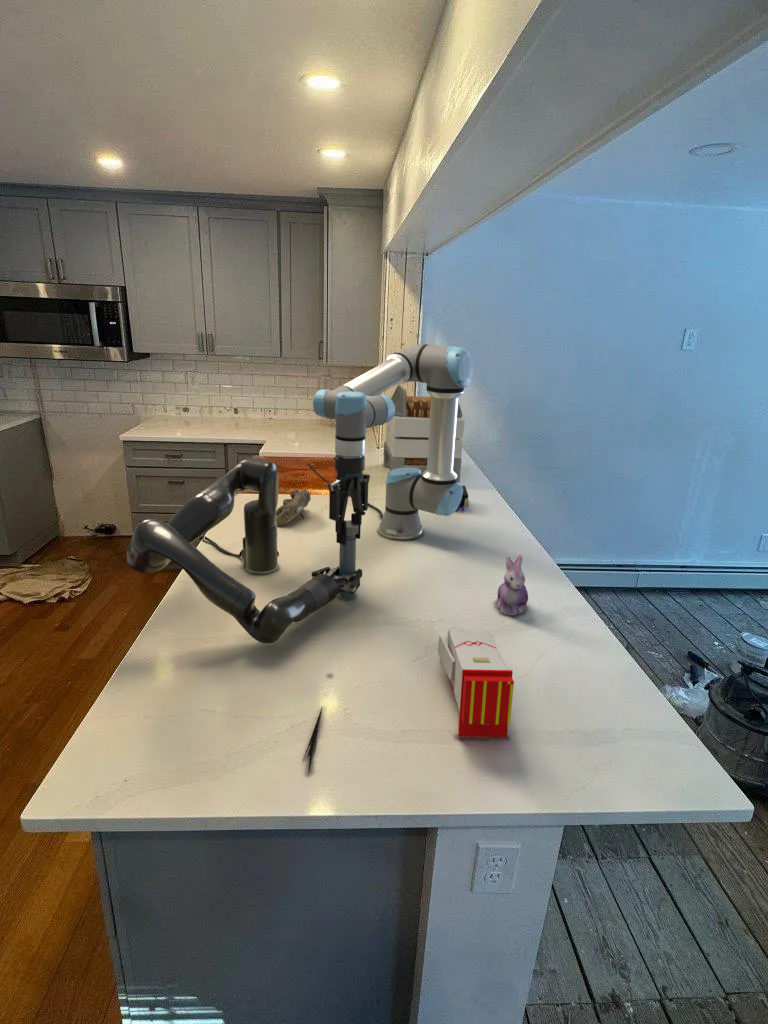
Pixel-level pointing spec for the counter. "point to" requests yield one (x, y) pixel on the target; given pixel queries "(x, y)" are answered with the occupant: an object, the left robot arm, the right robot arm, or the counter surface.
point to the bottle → (347, 562)
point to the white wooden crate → (414, 433)
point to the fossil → (292, 506)
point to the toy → (478, 682)
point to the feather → (313, 740)
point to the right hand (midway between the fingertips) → (348, 540)
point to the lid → (351, 528)
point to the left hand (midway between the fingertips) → (352, 569)
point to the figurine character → (464, 499)
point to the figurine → (512, 589)
